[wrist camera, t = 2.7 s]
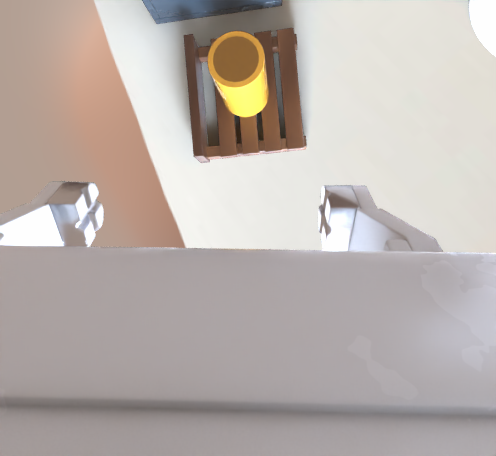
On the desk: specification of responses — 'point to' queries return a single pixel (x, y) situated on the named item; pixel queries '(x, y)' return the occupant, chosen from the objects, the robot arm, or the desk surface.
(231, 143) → the brown slatted wooden rack
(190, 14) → the open rectangular storage bin
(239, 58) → the cup
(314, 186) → the desk surface
